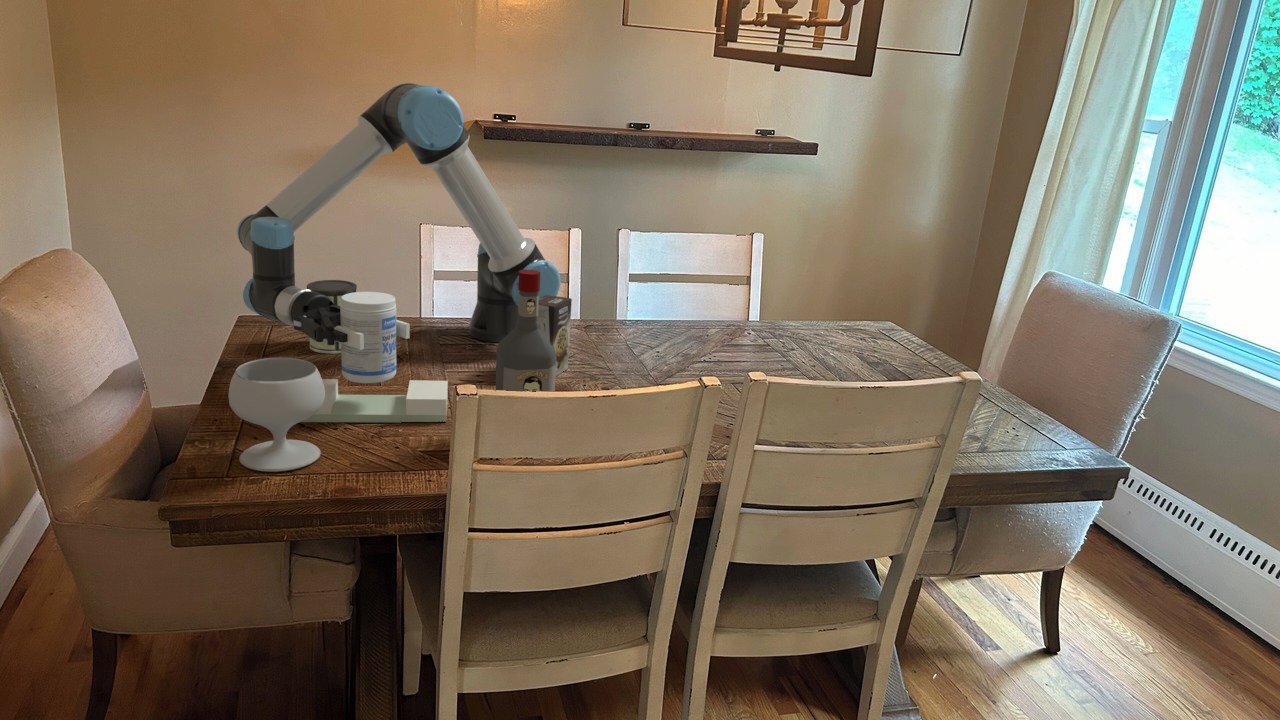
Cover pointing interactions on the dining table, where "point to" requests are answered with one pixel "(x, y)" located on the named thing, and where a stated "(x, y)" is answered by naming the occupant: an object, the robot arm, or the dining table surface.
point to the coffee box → (556, 326)
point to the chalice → (277, 409)
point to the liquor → (526, 345)
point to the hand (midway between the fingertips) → (385, 336)
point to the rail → (385, 404)
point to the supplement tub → (369, 336)
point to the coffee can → (334, 292)
